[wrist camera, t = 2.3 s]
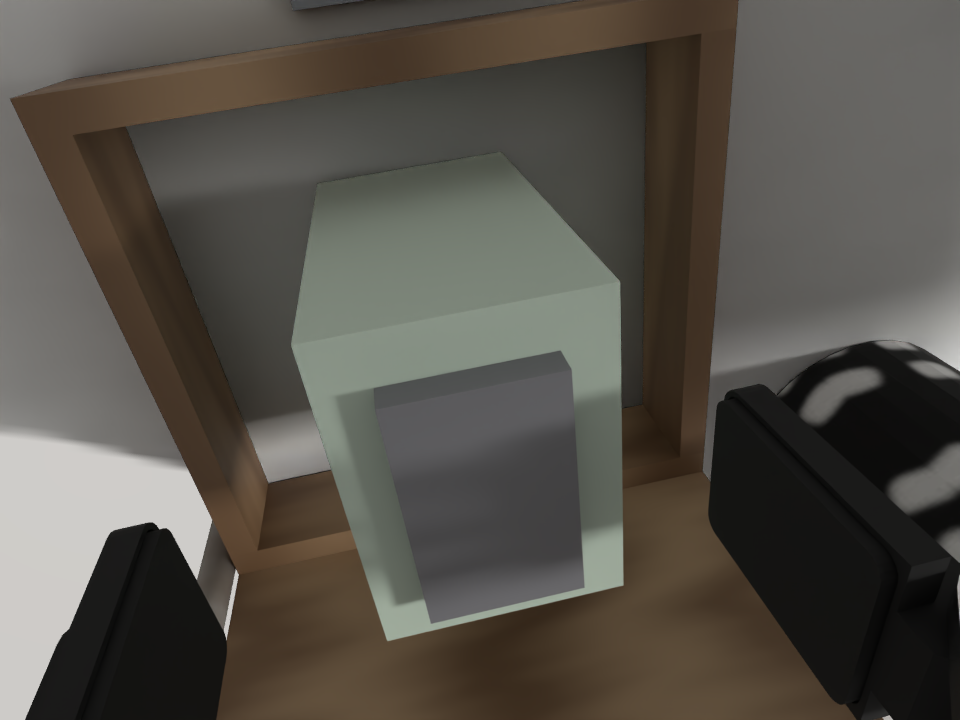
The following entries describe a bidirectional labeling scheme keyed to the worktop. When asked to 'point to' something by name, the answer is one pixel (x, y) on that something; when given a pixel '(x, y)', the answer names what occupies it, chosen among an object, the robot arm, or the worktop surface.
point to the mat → (316, 3)
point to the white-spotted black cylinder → (892, 426)
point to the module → (464, 390)
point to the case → (315, 498)
